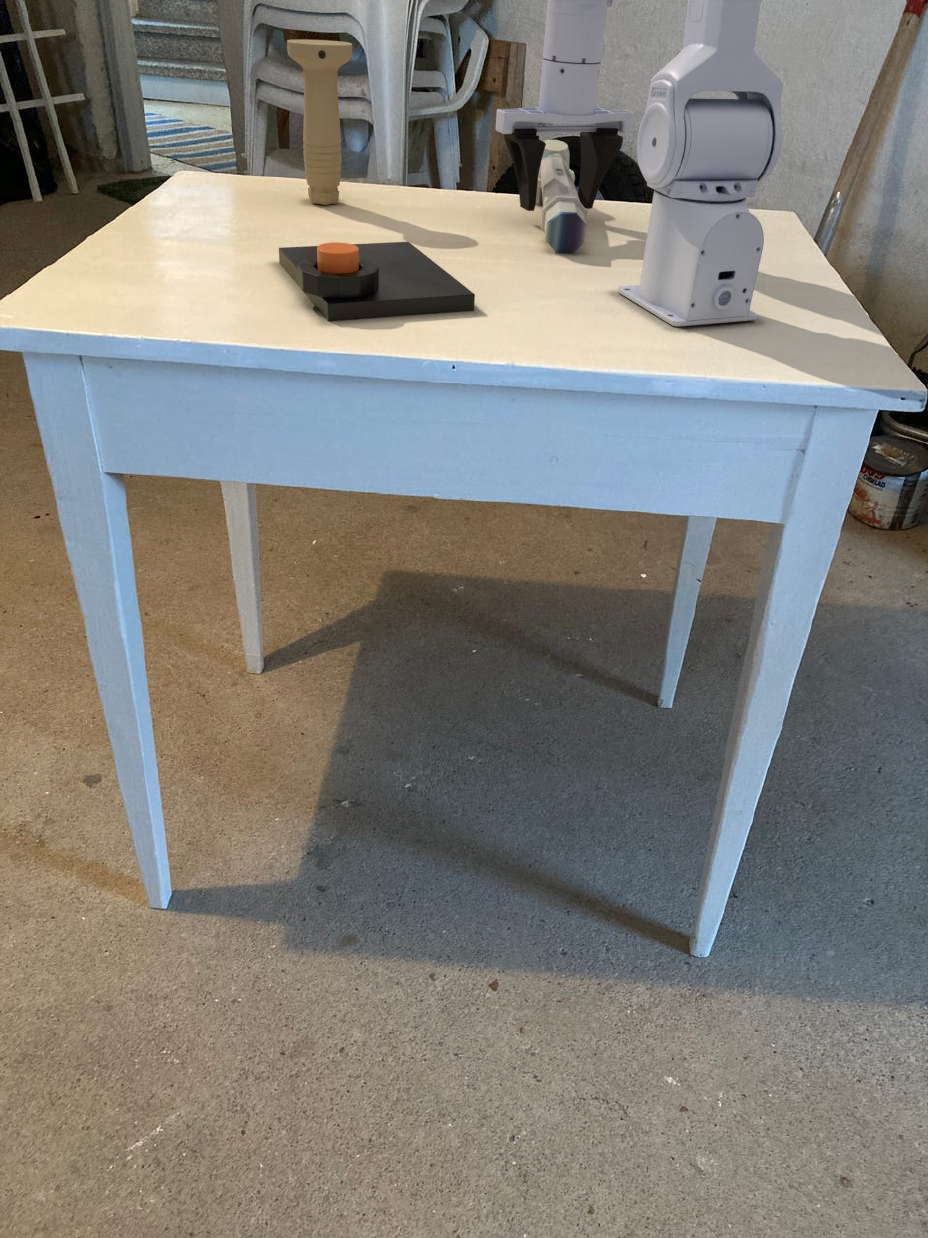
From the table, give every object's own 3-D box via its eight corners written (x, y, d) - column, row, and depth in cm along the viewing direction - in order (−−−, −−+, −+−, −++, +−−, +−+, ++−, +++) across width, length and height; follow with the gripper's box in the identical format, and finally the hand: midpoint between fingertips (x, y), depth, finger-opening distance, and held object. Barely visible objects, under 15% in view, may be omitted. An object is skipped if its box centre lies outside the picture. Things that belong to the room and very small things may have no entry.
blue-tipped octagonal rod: (541, 208, 92) (530, 124, 110) (534, 277, 97) (524, 186, 115) (596, 211, 92) (576, 127, 110) (587, 280, 97) (569, 188, 115)
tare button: (364, 275, 76) (364, 251, 75) (323, 277, 75) (323, 254, 74) (352, 263, 79) (352, 241, 78) (313, 265, 78) (312, 242, 77)
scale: (474, 311, 79) (476, 273, 77) (314, 323, 74) (313, 283, 73) (408, 257, 91) (408, 222, 89) (267, 264, 86) (265, 228, 85)
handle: (292, 196, 108) (285, 38, 99) (351, 197, 109) (349, 40, 100) (295, 207, 104) (288, 43, 95) (356, 207, 105) (354, 46, 97)
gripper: (616, 56, 102) (599, 196, 109) (487, 53, 97) (479, 200, 105) (651, 65, 96) (630, 211, 104) (517, 63, 92) (505, 216, 99)
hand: (556, 207), depth 104 cm, fingers closed on blue-tipped octagonal rod, 6 cm apart
